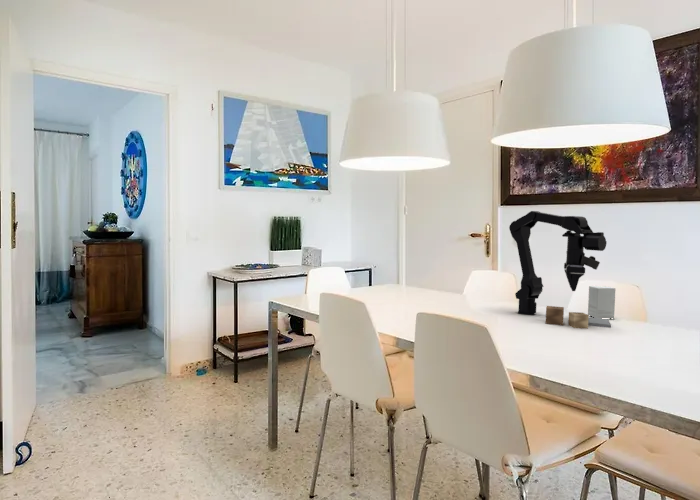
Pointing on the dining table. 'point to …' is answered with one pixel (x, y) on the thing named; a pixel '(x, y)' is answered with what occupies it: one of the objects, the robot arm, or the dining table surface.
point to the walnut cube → (554, 315)
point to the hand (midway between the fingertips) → (572, 289)
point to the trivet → (598, 322)
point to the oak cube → (578, 320)
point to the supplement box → (601, 302)
